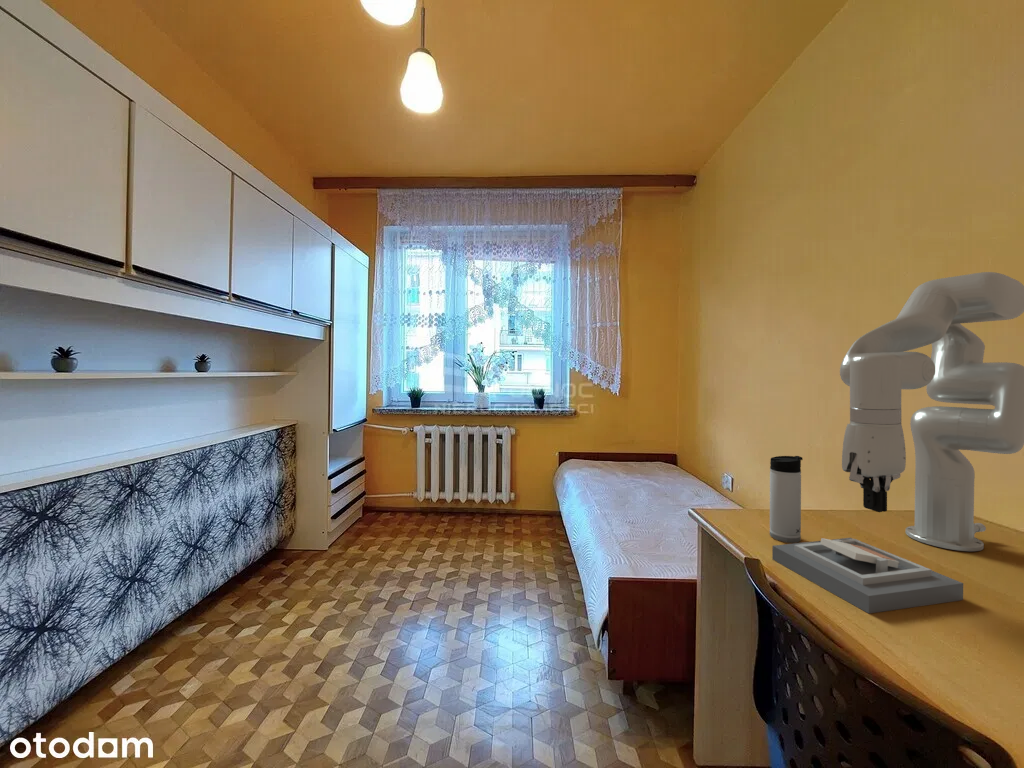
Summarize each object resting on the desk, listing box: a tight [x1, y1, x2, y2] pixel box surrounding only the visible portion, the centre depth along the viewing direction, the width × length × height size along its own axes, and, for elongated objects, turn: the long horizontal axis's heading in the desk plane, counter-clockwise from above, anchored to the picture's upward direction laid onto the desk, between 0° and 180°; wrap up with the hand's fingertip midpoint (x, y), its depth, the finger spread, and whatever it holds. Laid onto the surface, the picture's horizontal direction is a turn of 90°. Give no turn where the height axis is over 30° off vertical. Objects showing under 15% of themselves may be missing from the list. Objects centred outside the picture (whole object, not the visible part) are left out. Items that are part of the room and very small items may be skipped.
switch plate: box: [771, 537, 964, 614], centre depth 79 cm, size 20×20×6 cm
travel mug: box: [769, 455, 803, 544], centre depth 98 cm, size 6×7×20 cm
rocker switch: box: [820, 537, 899, 568], centre depth 79 cm, size 10×7×1 cm
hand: (875, 509), depth 80 cm, fingers closed
